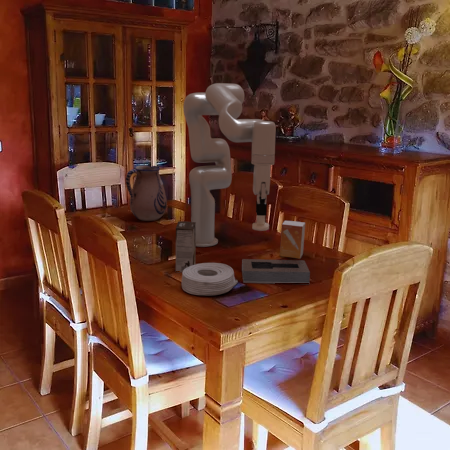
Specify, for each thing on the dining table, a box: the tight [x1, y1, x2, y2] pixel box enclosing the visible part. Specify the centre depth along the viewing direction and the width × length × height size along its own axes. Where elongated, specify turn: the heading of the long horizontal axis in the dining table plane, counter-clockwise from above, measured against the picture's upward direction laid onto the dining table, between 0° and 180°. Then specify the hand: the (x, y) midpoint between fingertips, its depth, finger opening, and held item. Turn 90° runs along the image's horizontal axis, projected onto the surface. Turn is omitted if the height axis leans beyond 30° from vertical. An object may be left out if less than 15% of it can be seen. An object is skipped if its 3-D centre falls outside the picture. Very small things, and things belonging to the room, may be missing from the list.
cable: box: [181, 262, 238, 296], centre depth 171 cm, size 18×18×6 cm
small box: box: [279, 220, 306, 260], centre depth 203 cm, size 8×6×13 cm
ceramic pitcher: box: [125, 164, 168, 222], centre depth 248 cm, size 18×21×25 cm
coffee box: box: [175, 220, 196, 273], centre depth 186 cm, size 9×6×16 cm
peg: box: [252, 193, 270, 232], centre depth 177 cm, size 6×6×14 cm
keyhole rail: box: [241, 258, 311, 284], centre depth 181 cm, size 22×12×4 cm, turn 91°
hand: (261, 213), depth 178 cm, fingers closed on peg, 2 cm apart
